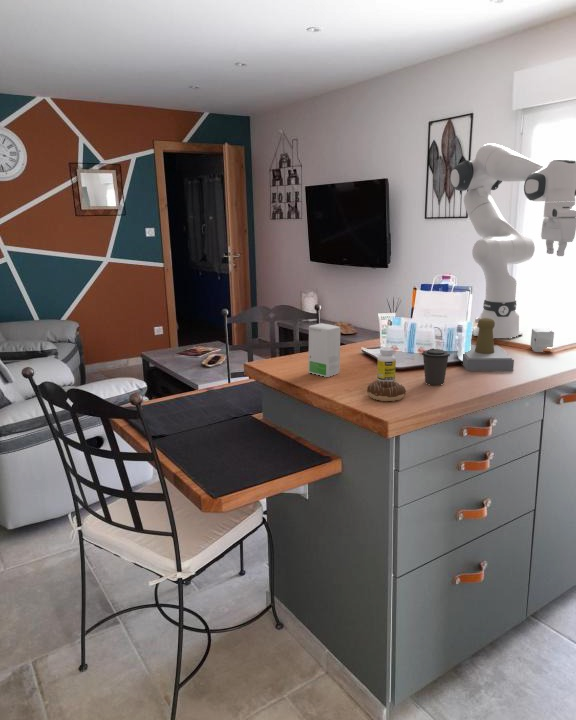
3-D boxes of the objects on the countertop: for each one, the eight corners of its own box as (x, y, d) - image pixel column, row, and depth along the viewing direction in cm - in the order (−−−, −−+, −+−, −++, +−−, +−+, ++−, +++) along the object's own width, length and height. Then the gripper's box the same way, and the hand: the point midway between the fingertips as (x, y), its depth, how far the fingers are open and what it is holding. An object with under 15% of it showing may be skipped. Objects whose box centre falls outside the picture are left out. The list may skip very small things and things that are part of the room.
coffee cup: (430, 377, 172) (431, 345, 169) (454, 382, 166) (455, 349, 163) (415, 383, 166) (416, 350, 164) (439, 389, 160) (440, 355, 158)
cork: (491, 349, 187) (493, 316, 184) (496, 353, 181) (498, 320, 178) (473, 349, 187) (474, 317, 184) (477, 353, 181) (479, 320, 179)
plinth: (456, 356, 194) (457, 345, 193) (498, 356, 193) (499, 345, 192) (467, 370, 177) (467, 358, 176) (513, 370, 176) (514, 358, 175)
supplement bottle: (384, 383, 167) (384, 351, 164) (373, 379, 171) (373, 348, 169) (398, 380, 169) (399, 349, 167) (387, 376, 174) (388, 345, 171)
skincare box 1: (307, 373, 180) (306, 325, 176) (321, 369, 184) (320, 322, 180) (328, 378, 174) (327, 329, 170) (341, 373, 179) (341, 325, 175)
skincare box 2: (529, 348, 203) (531, 328, 201) (547, 348, 202) (549, 328, 200) (534, 352, 197) (536, 331, 195) (552, 352, 196) (554, 331, 195)
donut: (360, 400, 154) (360, 386, 153) (376, 389, 162) (376, 376, 161) (396, 406, 148) (397, 392, 147) (411, 395, 156) (412, 381, 155)
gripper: (538, 211, 190) (534, 252, 194) (560, 211, 171) (555, 257, 174) (557, 210, 190) (553, 252, 193) (581, 211, 170) (577, 257, 173)
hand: (554, 254), depth 183 cm, fingers open, 8 cm apart
